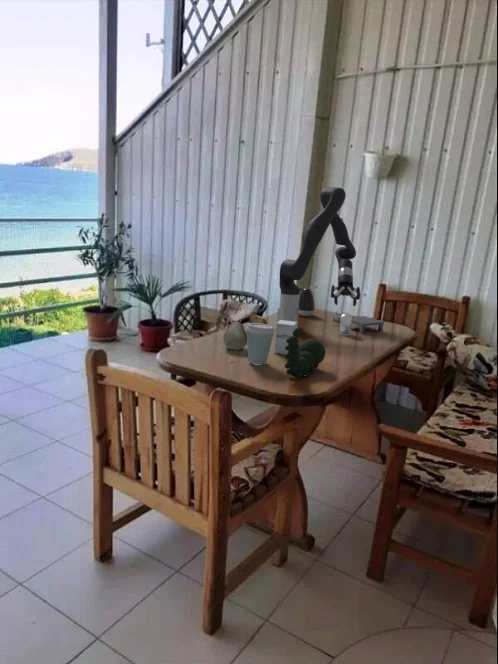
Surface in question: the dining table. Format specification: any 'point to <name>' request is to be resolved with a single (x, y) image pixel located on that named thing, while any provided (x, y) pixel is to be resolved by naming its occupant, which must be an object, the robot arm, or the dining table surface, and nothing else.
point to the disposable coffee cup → (259, 342)
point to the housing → (345, 324)
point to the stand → (367, 323)
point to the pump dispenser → (306, 302)
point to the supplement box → (283, 335)
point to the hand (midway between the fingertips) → (345, 304)
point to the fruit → (235, 336)
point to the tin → (257, 319)
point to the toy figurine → (303, 354)
